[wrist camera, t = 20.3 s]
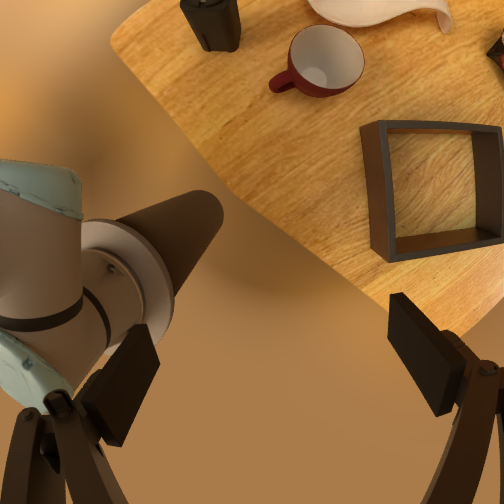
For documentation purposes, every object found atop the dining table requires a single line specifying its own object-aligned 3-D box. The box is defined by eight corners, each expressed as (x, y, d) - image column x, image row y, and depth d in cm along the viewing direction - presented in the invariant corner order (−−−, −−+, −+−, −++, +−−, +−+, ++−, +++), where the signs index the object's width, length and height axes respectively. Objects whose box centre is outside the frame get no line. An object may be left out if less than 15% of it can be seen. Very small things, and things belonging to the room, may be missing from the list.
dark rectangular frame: (370, 248, 41) (388, 263, 34) (359, 127, 37) (377, 120, 30) (479, 232, 40) (505, 243, 33) (474, 129, 35) (501, 126, 29)
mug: (289, 127, 37) (298, 114, 28) (255, 79, 36) (253, 52, 26) (353, 91, 35) (379, 72, 26) (320, 45, 34) (335, 14, 24)
